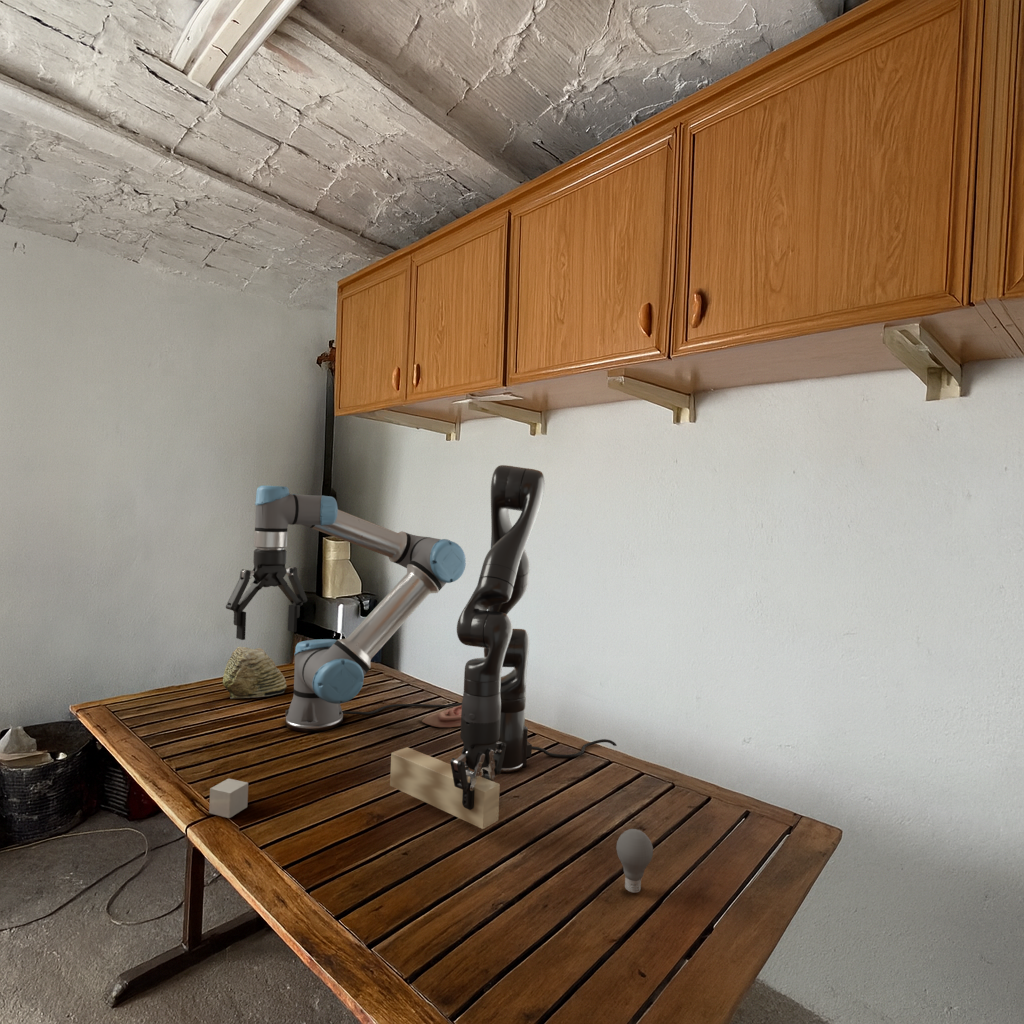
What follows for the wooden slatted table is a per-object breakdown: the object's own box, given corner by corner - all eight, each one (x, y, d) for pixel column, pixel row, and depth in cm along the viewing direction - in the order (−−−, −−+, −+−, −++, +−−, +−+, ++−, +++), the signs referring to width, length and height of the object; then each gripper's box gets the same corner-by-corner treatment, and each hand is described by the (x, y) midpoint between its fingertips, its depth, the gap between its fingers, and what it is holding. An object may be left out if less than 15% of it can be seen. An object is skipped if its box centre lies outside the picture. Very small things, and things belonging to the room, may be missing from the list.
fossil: (218, 695, 195) (220, 647, 195) (278, 685, 208) (279, 640, 207) (228, 703, 189) (230, 653, 188) (289, 692, 201) (290, 645, 201)
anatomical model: (418, 710, 178) (431, 698, 189) (418, 724, 178) (431, 711, 189) (464, 716, 175) (474, 703, 186) (463, 730, 175) (474, 716, 186)
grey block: (227, 802, 130) (228, 778, 130) (247, 807, 128) (248, 782, 128) (208, 813, 125) (209, 788, 125) (229, 818, 123) (230, 793, 123)
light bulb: (610, 879, 108) (613, 822, 108) (644, 879, 109) (647, 822, 109) (619, 902, 102) (622, 840, 102) (655, 901, 103) (658, 840, 103)
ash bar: (389, 785, 133) (391, 752, 133) (405, 779, 137) (407, 747, 137) (482, 829, 117) (484, 791, 117) (498, 820, 121) (499, 784, 121)
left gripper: (306, 545, 167) (303, 625, 167) (212, 549, 148) (209, 639, 148) (323, 548, 162) (320, 630, 163) (228, 551, 143) (225, 645, 143)
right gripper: (490, 702, 129) (486, 785, 129) (440, 718, 118) (436, 810, 118) (519, 710, 124) (515, 797, 124) (470, 729, 113) (466, 824, 113)
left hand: (267, 635), depth 155 cm, fingers open, 13 cm apart
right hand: (477, 803), depth 121 cm, fingers closed on ash bar, 4 cm apart
